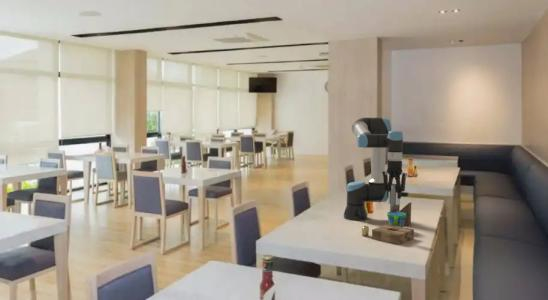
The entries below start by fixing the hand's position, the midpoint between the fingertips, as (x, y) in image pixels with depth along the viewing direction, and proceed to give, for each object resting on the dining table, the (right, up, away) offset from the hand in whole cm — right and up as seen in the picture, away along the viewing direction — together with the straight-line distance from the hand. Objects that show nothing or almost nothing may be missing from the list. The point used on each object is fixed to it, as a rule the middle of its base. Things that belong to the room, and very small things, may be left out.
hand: (393, 203), depth 239 cm
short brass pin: (-14, -18, +7) cm, 24 cm away
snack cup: (+6, -18, +19) cm, 27 cm away
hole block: (0, -19, +2) cm, 19 cm away
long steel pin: (0, -4, 0) cm, 4 cm away
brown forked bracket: (+14, -17, +34) cm, 40 cm away
